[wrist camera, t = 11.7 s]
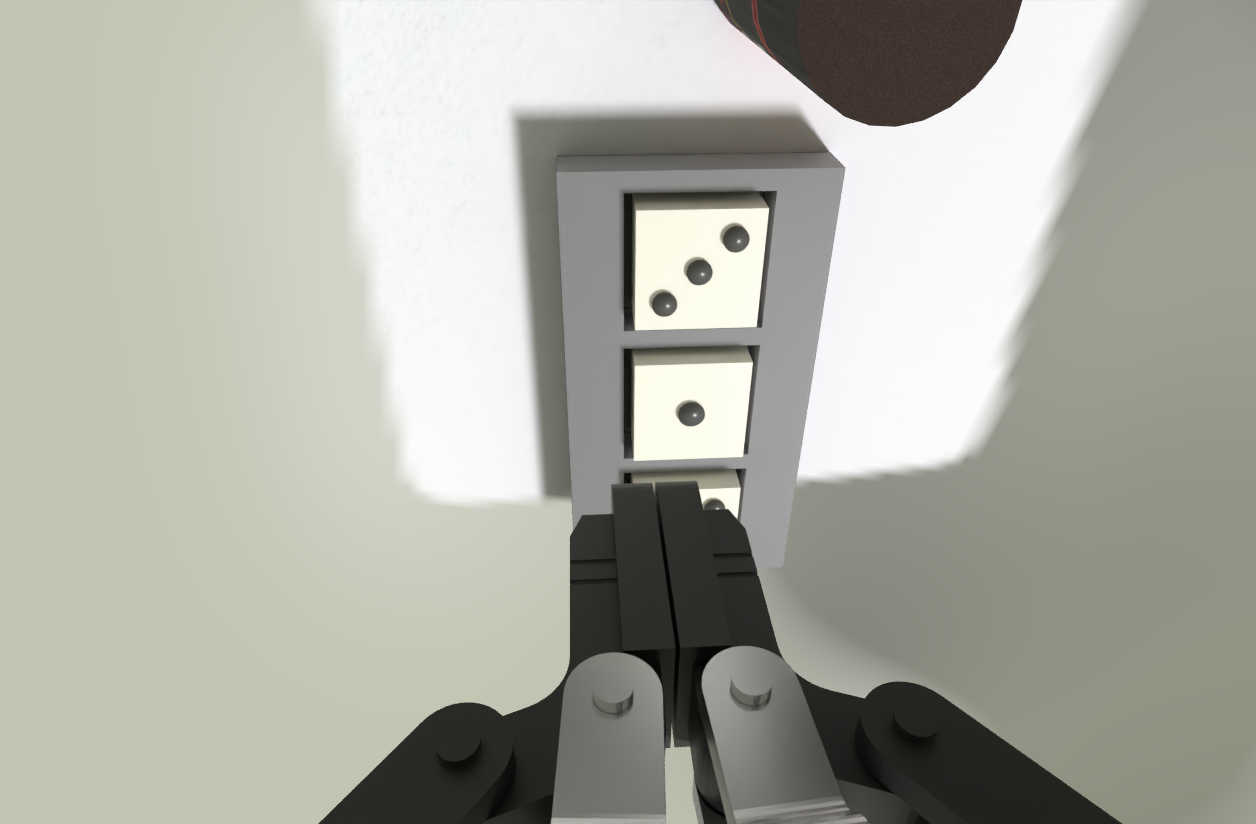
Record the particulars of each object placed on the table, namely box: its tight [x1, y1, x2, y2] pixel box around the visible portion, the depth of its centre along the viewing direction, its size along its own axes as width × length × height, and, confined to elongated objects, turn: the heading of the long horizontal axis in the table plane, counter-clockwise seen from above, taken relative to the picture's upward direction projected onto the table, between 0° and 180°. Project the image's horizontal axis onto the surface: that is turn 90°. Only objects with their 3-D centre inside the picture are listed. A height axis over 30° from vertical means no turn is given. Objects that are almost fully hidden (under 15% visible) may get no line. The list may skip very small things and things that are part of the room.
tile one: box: [631, 345, 753, 461], centre depth 42 cm, size 6×6×3 cm
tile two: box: [631, 469, 741, 518], centre depth 46 cm, size 6×6×3 cm
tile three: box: [632, 191, 769, 330], centre depth 38 cm, size 6×6×3 cm
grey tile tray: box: [556, 152, 845, 568], centre depth 43 cm, size 13×25×2 cm, turn 0°
